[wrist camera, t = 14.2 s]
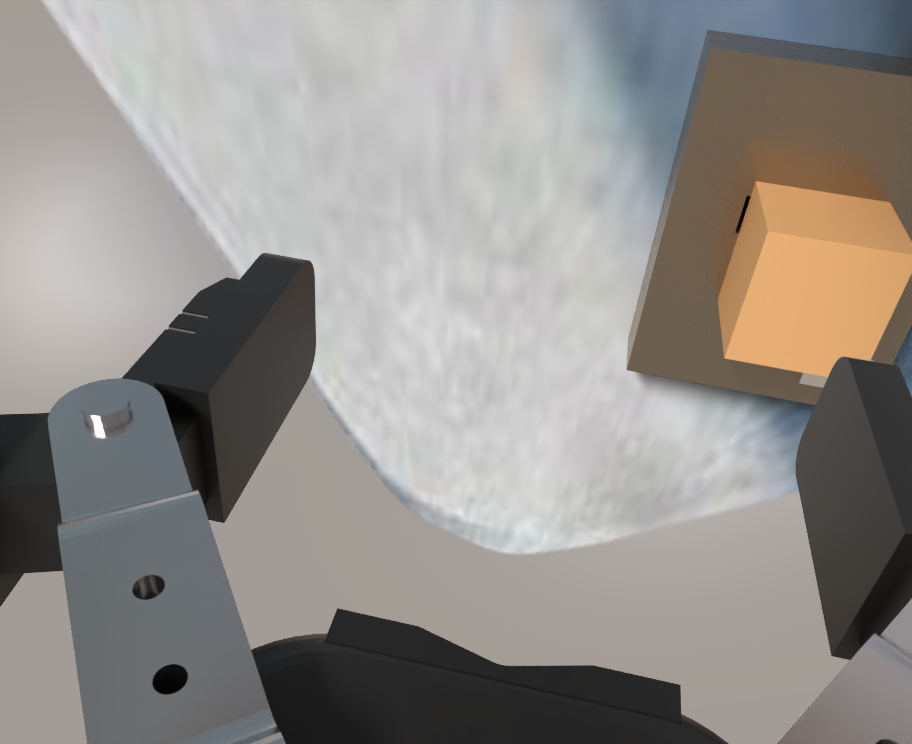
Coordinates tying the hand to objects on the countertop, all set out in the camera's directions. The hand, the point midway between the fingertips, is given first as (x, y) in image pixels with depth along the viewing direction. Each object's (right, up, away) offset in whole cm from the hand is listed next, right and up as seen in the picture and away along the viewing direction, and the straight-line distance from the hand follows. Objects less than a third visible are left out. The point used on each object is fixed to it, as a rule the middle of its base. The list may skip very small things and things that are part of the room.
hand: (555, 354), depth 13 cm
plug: (+14, +6, +26) cm, 31 cm away
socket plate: (+14, +7, +27) cm, 31 cm away
